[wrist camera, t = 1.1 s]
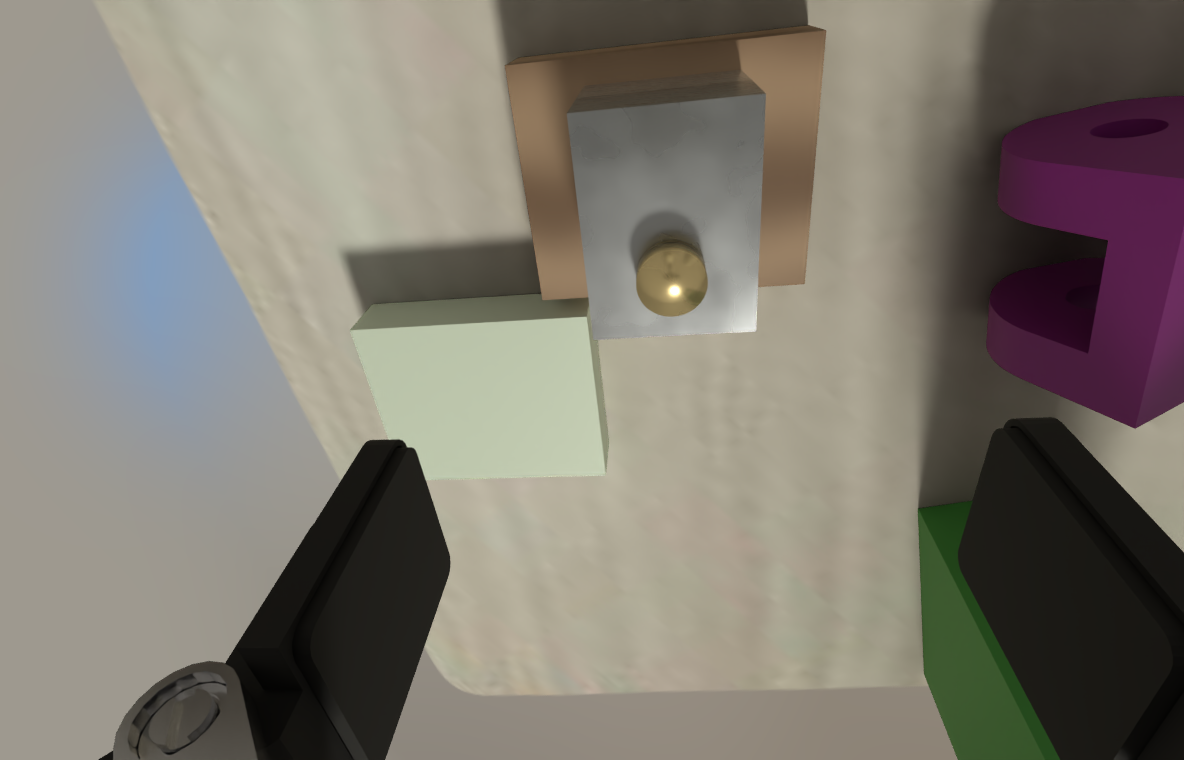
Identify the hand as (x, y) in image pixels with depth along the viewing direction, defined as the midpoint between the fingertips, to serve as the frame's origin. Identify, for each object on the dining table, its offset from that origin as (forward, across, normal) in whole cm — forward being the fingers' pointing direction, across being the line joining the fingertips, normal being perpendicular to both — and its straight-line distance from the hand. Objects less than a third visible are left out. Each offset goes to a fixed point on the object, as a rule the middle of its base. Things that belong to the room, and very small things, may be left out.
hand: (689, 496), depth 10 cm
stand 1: (+22, +10, +11) cm, 26 cm away
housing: (+19, 0, 0) cm, 19 cm away
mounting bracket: (+22, -23, +3) cm, 32 cm away
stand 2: (+22, 0, 0) cm, 22 cm away
